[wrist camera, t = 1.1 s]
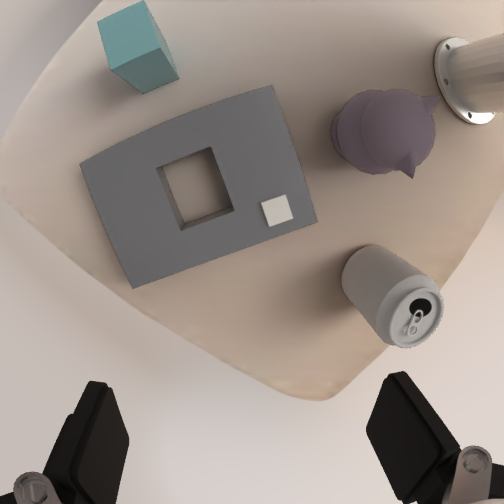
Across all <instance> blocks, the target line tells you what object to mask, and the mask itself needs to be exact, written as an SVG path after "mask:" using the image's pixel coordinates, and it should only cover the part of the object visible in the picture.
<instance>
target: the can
mask: <svg viewBox="0 0 504 504" xmlns="http://www.w3.org/2000/svg"><path fill="white" fill-rule="evenodd" d="M342 288H343V290H344V293H345V295H346V296H347V297H348V298H349V299H350V301H351V302H352V303H353V304H354V306H355V307H356V308H357V309H358V311H359V312H360V313H361V314H362V315H363V317H364V318H365V319H366V320H367V322H368V323H369V324H370V325H371V327H372V328H373V329H374V331H375V332H376V333H377V334H378V336H379V337H380V338H381V339H382V340H383V341H384V342H385V343H387V344H390V345H396V346H398V347H400V348H411V347H414V346H417V345H419V344H421V343H422V342H424V341H425V340H427V339H428V338H429V337H430V336H431V334H433V333H434V331H435V330H436V328H437V327H438V325H439V323H440V321H441V318H442V316H443V310H444V303H443V298H442V296H441V294H440V290H439V287H438V285H437V284H436V282H435V281H434V280H433V279H431V278H430V277H429V276H427V275H426V274H424V273H423V272H421V271H420V270H418V269H417V268H415V267H414V266H412V265H411V264H409V263H408V262H406V261H405V260H403V259H402V258H400V257H399V256H397V255H396V254H394V253H392V252H391V251H389V250H388V249H386V248H385V247H383V246H378V245H372V246H366V247H364V248H362V249H360V250H358V251H357V252H356V253H355V254H353V255H352V256H351V257H350V258H349V260H348V262H347V263H346V265H345V267H344V270H343V273H342Z"/></svg>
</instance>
